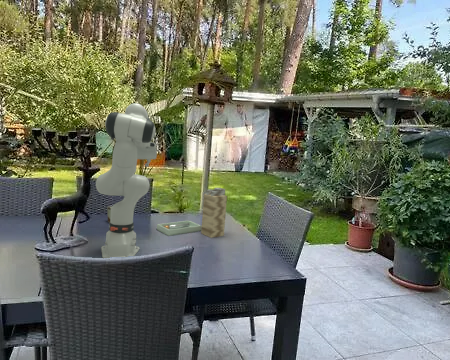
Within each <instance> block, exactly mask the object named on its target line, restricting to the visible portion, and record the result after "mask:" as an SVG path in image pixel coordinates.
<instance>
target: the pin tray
mask: <svg viewBox="0 0 450 360" xmlns="http://www.w3.org/2000/svg"><path fill="white" fill-rule="evenodd" d="M184 223H189V224H190V226H189V227H183V228H175V229H167V228H165V227H163V226H167V225H176V224H184ZM201 229H202V224H201V225H200V224H198V223H197V222H194V221H191V220H182V221H173V222H168V223H167V222H164V223H157V224H156V231H158V232H161V233H162V234H164V235H165V236H168V237H171V236H178V235H183V234H192V233H199V232H201ZM198 231H199V232H198Z"/></svg>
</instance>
